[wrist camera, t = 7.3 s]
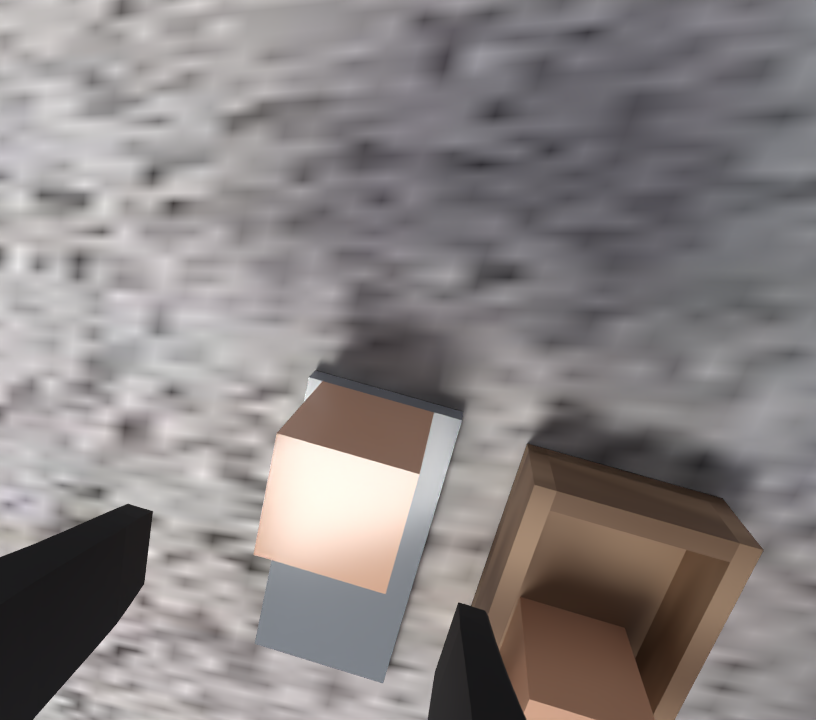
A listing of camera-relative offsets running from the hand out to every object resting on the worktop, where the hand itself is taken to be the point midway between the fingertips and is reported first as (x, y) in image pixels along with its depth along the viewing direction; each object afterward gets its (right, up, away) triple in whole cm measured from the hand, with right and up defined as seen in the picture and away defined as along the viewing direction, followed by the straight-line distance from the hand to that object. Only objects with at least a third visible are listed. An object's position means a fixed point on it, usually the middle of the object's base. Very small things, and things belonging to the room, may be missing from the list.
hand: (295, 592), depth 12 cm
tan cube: (+1, +2, +7) cm, 8 cm away
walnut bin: (+9, -4, +9) cm, 13 cm away
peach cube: (+8, -6, +9) cm, 14 cm away
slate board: (0, -1, +9) cm, 9 cm away
